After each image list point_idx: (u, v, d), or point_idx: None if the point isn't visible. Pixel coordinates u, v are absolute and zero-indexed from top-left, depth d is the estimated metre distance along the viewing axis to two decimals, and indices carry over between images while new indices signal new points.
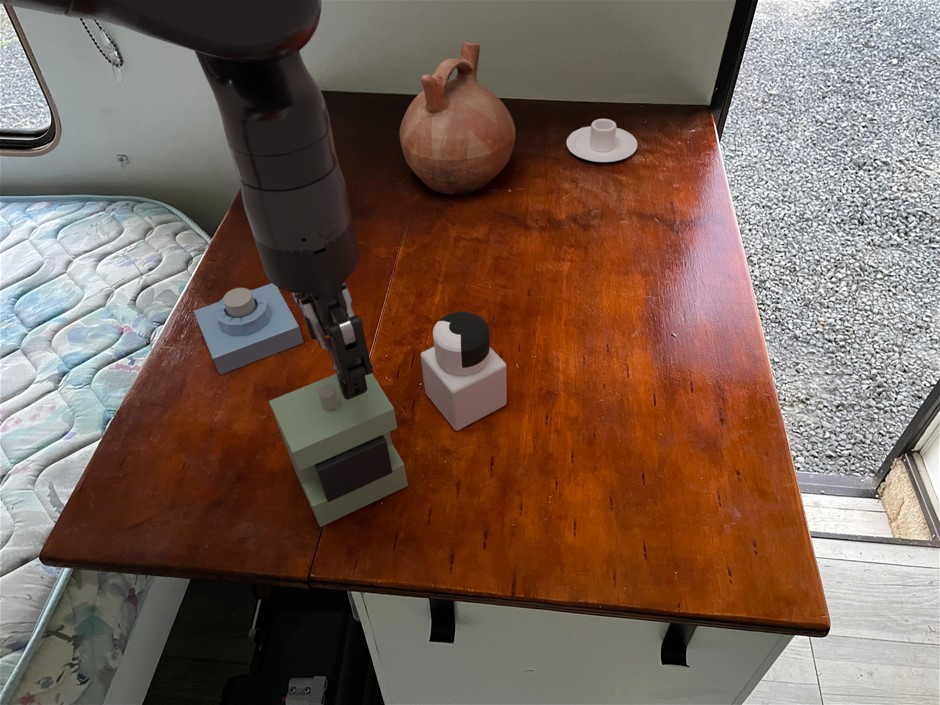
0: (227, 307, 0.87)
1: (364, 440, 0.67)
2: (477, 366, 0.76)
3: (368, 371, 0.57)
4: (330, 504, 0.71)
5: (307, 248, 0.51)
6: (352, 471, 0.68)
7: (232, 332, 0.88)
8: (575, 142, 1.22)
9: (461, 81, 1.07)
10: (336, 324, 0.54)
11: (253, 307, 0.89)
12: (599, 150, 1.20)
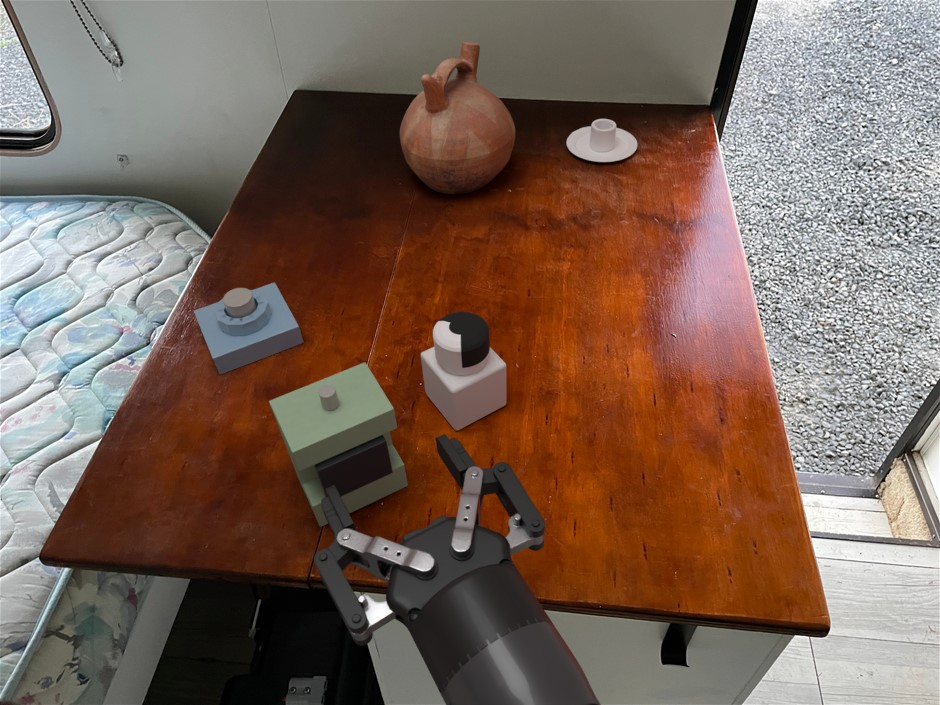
0: (227, 307, 0.87)
1: (364, 440, 0.67)
2: (477, 366, 0.76)
3: (322, 577, 0.46)
4: None
5: (444, 694, 0.39)
6: (352, 471, 0.68)
7: (232, 332, 0.88)
8: (575, 142, 1.22)
9: (461, 81, 1.07)
10: (362, 631, 0.42)
11: (253, 307, 0.89)
12: (599, 150, 1.20)
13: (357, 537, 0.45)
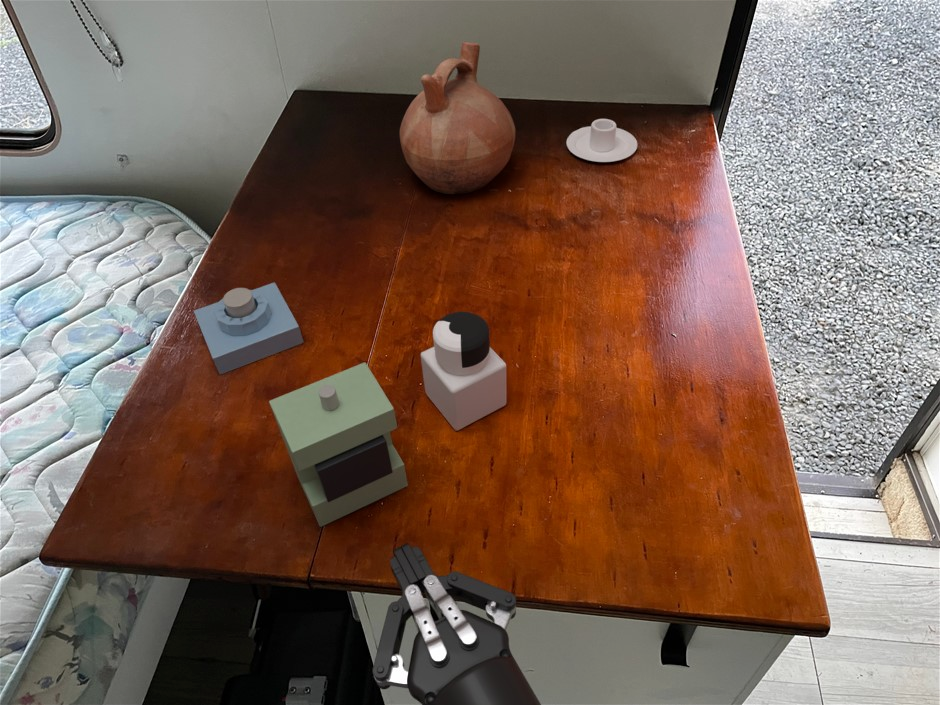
0: (227, 307, 0.87)
1: (364, 440, 0.67)
2: (477, 365, 0.76)
3: None
4: (330, 504, 0.71)
5: None
6: (352, 471, 0.68)
7: (232, 332, 0.88)
8: (575, 142, 1.22)
9: (461, 81, 1.07)
10: (380, 680, 0.53)
11: (253, 307, 0.89)
12: (599, 150, 1.20)
13: (418, 598, 0.57)
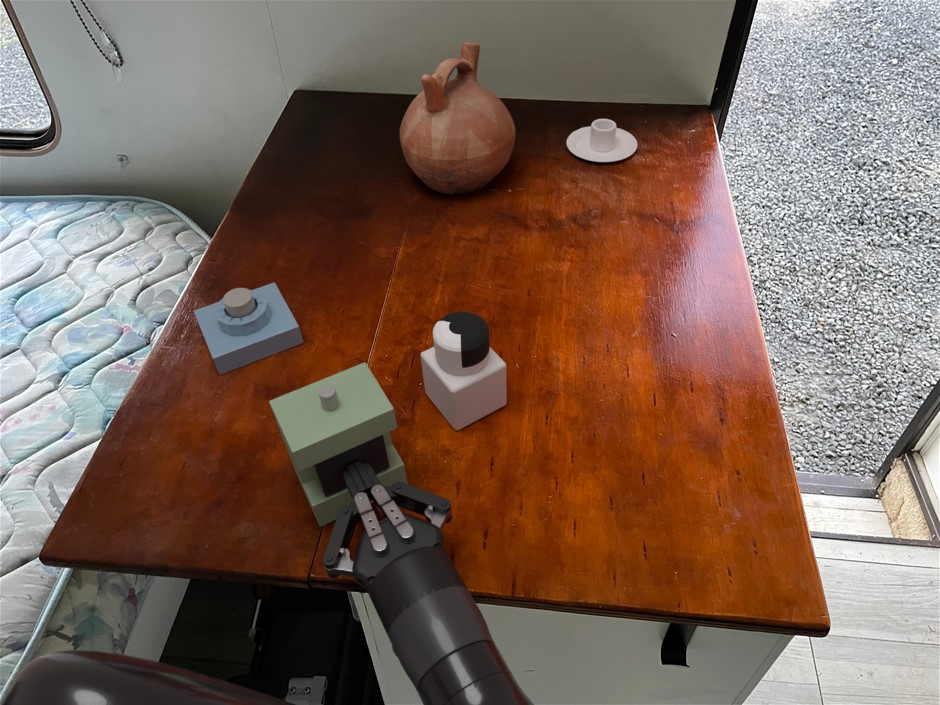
0: (227, 307, 0.87)
1: (364, 440, 0.67)
2: (477, 365, 0.76)
3: None
4: (330, 504, 0.71)
5: (388, 634, 0.57)
6: None
7: (232, 332, 0.88)
8: (575, 142, 1.22)
9: (461, 81, 1.07)
10: (329, 568, 0.61)
11: (253, 307, 0.89)
12: (599, 150, 1.20)
13: (365, 502, 0.65)
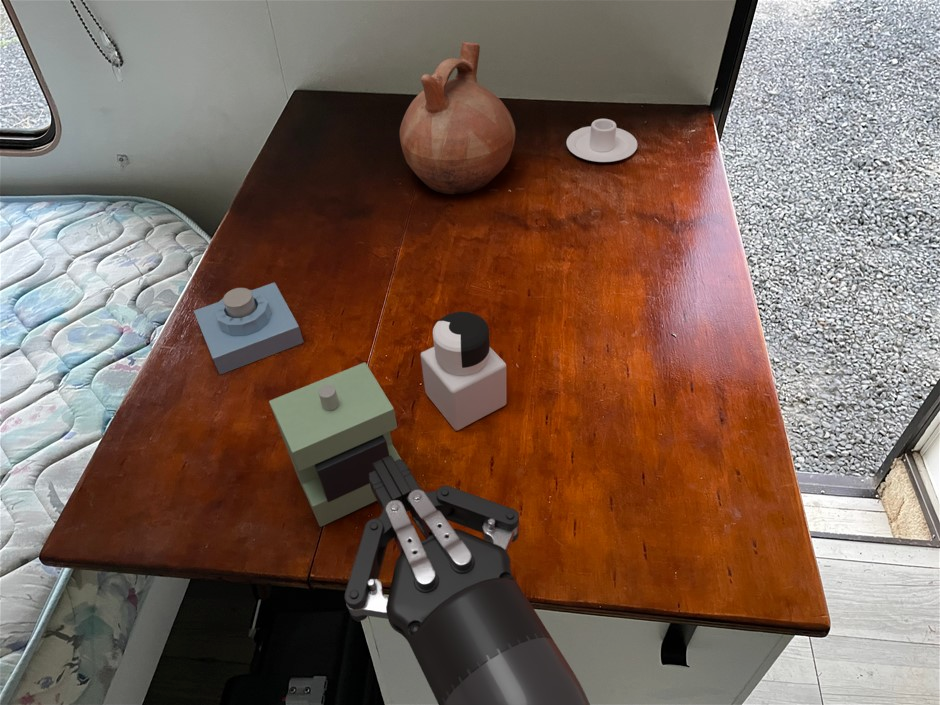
0: (227, 307, 0.87)
1: (364, 440, 0.67)
2: (477, 365, 0.76)
3: None
4: (330, 504, 0.71)
5: None
6: (352, 471, 0.68)
7: (232, 332, 0.88)
8: (575, 142, 1.22)
9: (461, 81, 1.07)
10: (353, 608, 0.43)
11: (253, 307, 0.89)
12: (599, 150, 1.20)
13: (401, 514, 0.47)
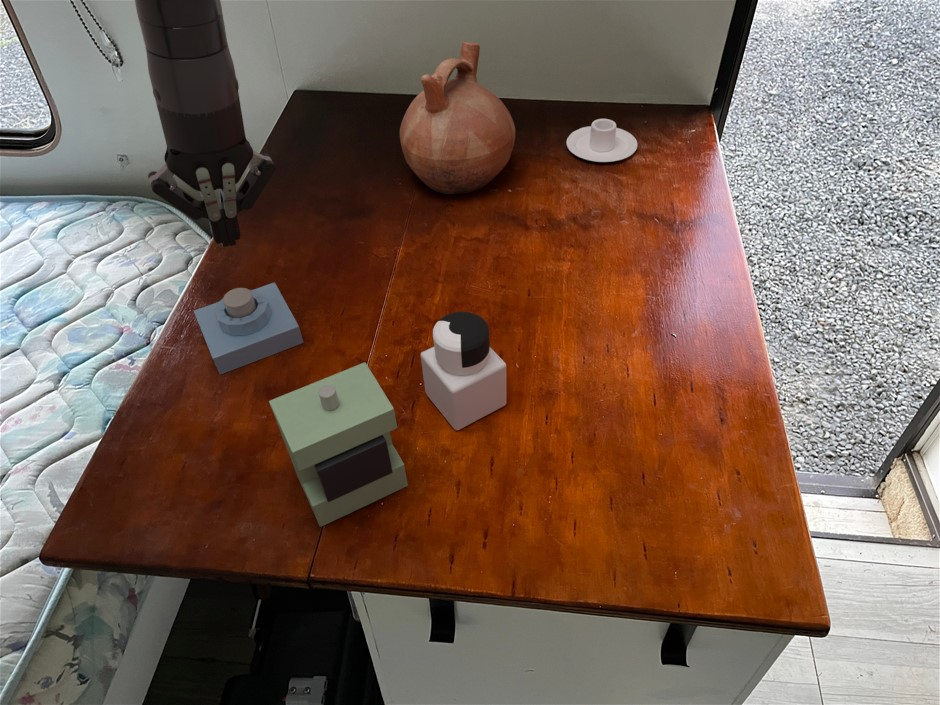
0: (227, 307, 0.87)
1: (364, 440, 0.67)
2: (477, 365, 0.76)
3: None
4: (330, 504, 0.71)
5: None
6: (352, 471, 0.68)
7: (232, 332, 0.88)
8: (575, 142, 1.22)
9: (461, 81, 1.07)
10: (150, 176, 0.71)
11: (253, 307, 0.89)
12: (599, 150, 1.20)
13: None
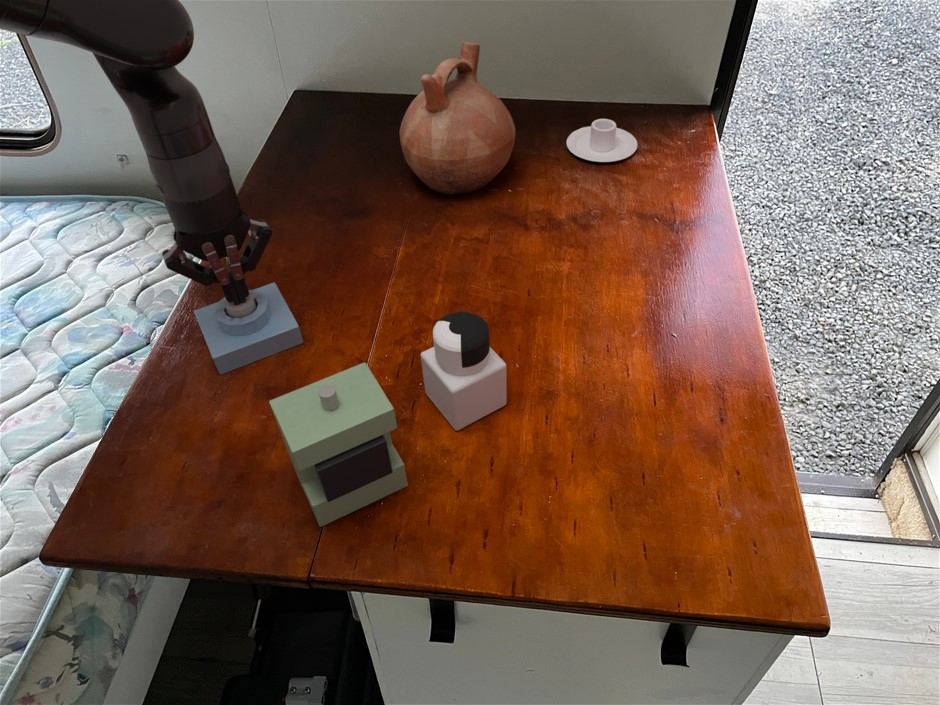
0: (228, 310, 0.88)
1: (364, 440, 0.67)
2: (477, 365, 0.76)
3: None
4: (330, 504, 0.71)
5: None
6: (352, 471, 0.68)
7: (232, 332, 0.88)
8: (575, 142, 1.22)
9: (461, 81, 1.07)
10: (164, 254, 0.80)
11: None
12: (599, 150, 1.20)
13: None
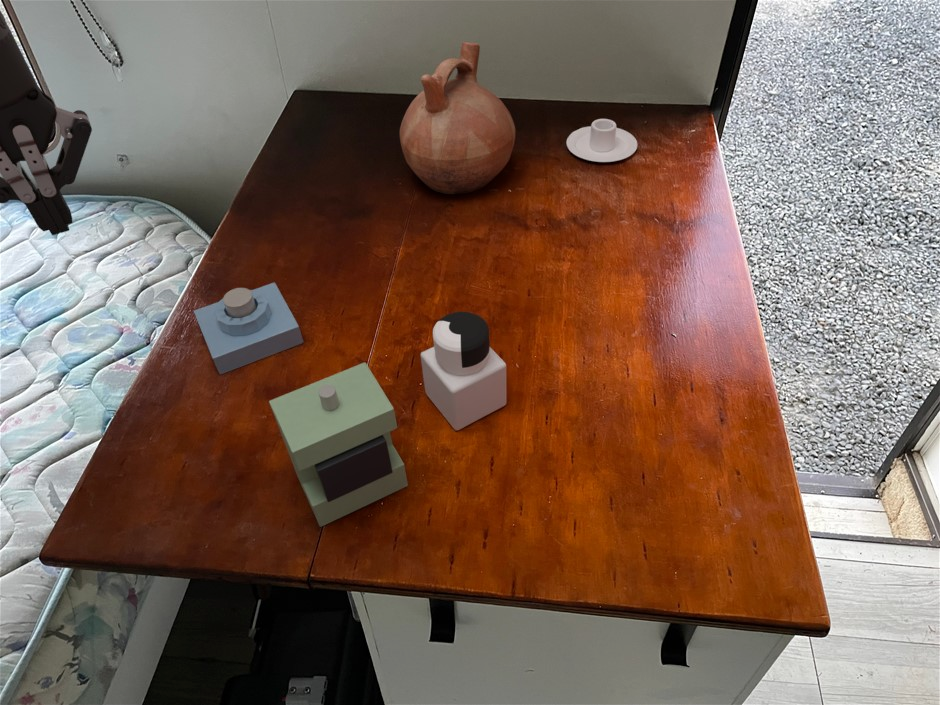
0: (227, 307, 0.87)
1: (364, 440, 0.67)
2: (477, 365, 0.76)
3: None
4: (330, 504, 0.71)
5: None
6: (352, 471, 0.68)
7: (232, 332, 0.88)
8: (575, 142, 1.22)
9: (461, 81, 1.07)
10: None
11: (253, 307, 0.89)
12: (599, 150, 1.20)
13: None
